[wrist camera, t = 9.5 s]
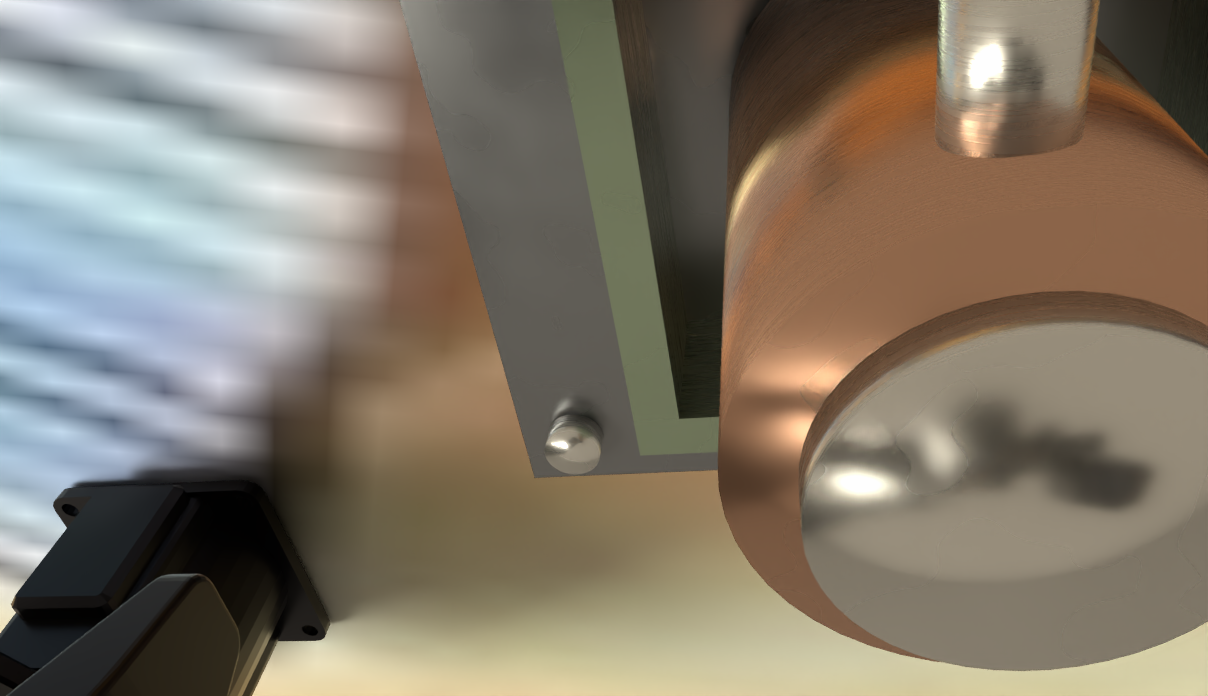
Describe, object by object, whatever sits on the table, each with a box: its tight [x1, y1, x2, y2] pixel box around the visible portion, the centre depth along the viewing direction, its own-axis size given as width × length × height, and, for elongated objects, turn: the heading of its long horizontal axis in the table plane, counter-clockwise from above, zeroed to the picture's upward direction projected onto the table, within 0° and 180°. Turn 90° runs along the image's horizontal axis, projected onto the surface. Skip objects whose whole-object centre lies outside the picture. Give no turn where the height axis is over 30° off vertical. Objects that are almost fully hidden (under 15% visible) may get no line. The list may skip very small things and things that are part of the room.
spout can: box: [718, 0, 1208, 671], centre depth 12 cm, size 7×6×10 cm
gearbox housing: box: [399, 0, 1208, 478], centre depth 16 cm, size 16×16×6 cm
